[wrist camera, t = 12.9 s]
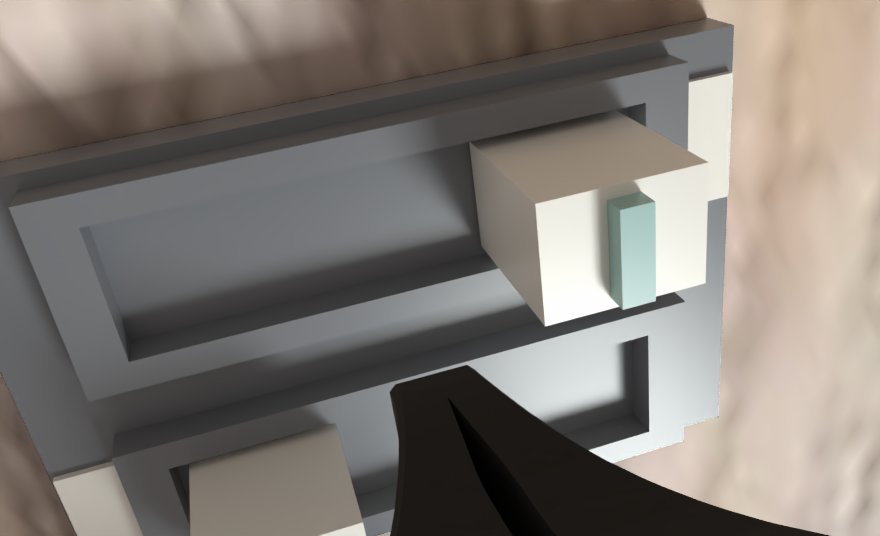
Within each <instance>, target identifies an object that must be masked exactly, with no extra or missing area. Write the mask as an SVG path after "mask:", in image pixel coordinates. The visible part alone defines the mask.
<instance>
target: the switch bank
mask: <svg viewBox="0 0 880 536" xmlns="http://www.w3.org/2000/svg"><path fill="white" fill-rule="evenodd" d="M733 34H734V25H731V24H727V23H724V22H720V21H717V20H713V19H710V18H706V19H702V20H697V21H692V22H687V23H682V24H677V25H672V26H667V27H662V28H657V29H652V30H647V31H643V32H638V33H633V34H628V35H623V36H618V37H613V38H608V39H603V40H598V41H593V42H589V43H584V44H579V45H574V46H569V47H564V48H559V49H554V50H549V51H544V52H539V53H534V54H530V55H525V56H520V57H515V58H510V59H505V60H500V61H495V62H490V63H485V64H480V65H475V66H471V67H466V68H461V69H456V70H451V71H446V72H441V73H436V74H431V75H426V76H421V77H416V78H412V79H407V80H402V81H397V82H392V83H387V84H382V85H377V86H372V87H367V88H362V89H358V90H353V91H348V92H343V93H338V94H333V95H328V96H323V97H318V98H313V99H308V100H303V101H299V102H294V103H289V104H284V105H279V106H274V107H269V108H264V109H259V110H254V111H249V112H244V113H240V114H235V115H230V116H225V117H220V118H215V119H210V120H205V121H200V122H195V123H190V124H185V125H181V126H176V127H171V128H166V129H161V130H156V131H151V132H146V133H141V134H136V135H131V136H126V137H122V138H117V139H112V140H107V141H102V142H97V143H92V144H87V145H82V146H77V147H72V148H68V149H63V150H58V151H53V152H48V153H43V154H38V155H33V156H28V157H23V158H18V159H13V160H9V161H4V162H0V372H1V374H2V376H3V378H4V381H5V383H6V385H7V387H8V389H9V391H10V393H11V396H12V398H13V400H14V402H15V404H16V406H17V409H18V411H19V413H20V415H21V417H22V419H23V422H24V424H25V426H26V428H27V430H28V432H29V435H30V437H31V439H32V441H33V443H34V445H35V448H36V450H37V452H38V454H39V456H40V458H41V460H42V463H43V465H44V467H45V469H46V471H47V473H48V476H49V478H50V480H51V482H52V484H53V486H54V489H55V491H56V493H57V495H58V497H59V499H60V502H61V504H62V506H63V508H64V510H65V512H66V515H67V517H68V519H69V521H70V523H71V525H72V527H73V530H74V532H75V534H76V536H190V485H189V463H192V462H196V461H200V460H203V459H207V458H210V457H214V456H217V455H221V454H225V453H228V452H232V451H235V450H239V449H243V448H246V447H250V446H253V445H257V444H260V443H264V442H268V441H271V440H275V439H278V438H282V437H286V436H289V435H293V434H296V433H300V432H303V431H307V430H311V429H314V428H318V427H321V426H325V425H329V424H332V423H335V424H336V427H337V431H338V434H339V438H340V442H341V445H342V449H343V452H344V456H345V460H346V463H347V467H348V470H349V474H350V477H351V481H352V485H353V488H354V492H355V495H356V499H357V503H358V506H359V510H360V513H361V517H362V521H363V524H364V529H365V533H366V536H377V535H380V534H383V533H386V532H390V531H391V528H392V522H393V516H394V509H395V500H396V490H397V480H398V463H399V438H398V433H397V428H396V423H395V417H394V412H393V407H392V402H391V397H390V391H391V389H392V388H393V387H394V385H395V384H398V383H402V382H406V381H409V380H413V379H417V378H420V377H424V376H428V375H431V374H435V373H439V372H442V371H446V370H450V369H453V368H457V367H460V366H464V365H468V366H470V367H472V368H473V369H475V370H476V371H477V372H478V373H479V374H481V375H482V376H483V377H484V378H486V379H487V380H488V381H489V382H491V383H492V384H493V385H494V386H496V387H497V388H498V389H499V390H501V391H502V392H503V393H505V394H506V395H507V396H509V397H510V398H511V399H512V400H514V401H515V402H516V403H518V404H519V405H520V406H522V407H523V408H525V409H526V410H527V411H529V412H530V413H532V414H533V415H534V416H536V417H537V418H539V419H540V420H542V421H543V422H545V423H546V424H548V425H549V426H551V427H552V428H553V429H555V430H556V431H558V432H560V433H561V434H563V435H564V436H566V437H567V438H569V439H570V440H572V441H574V442H575V443H577V444H579V445H580V446H582V447H584V448H585V449H587V450H589V451H590V452H592V453H594V454H596V455H597V456H599V457H601V458H603V459H605V460H606V461H608V462H610V463H614V462H617V461H620V460H623V459H627V458H630V457H633V456H636V455H640V454H643V453H646V452H649V451H653V450H656V449H659V448H662V447H666V446H669V445H672V444H675V443H679V442H682V441H684V427H686V426H689V425H693V424H696V423H699V422H702V421H706V420H709V419H712V418H716V417H719V392H720V367H721V341H722V315H723V290H724V264H725V239H726V213H727V196H728V189H729V163H730V138H731V113H732V88H733V73H732V60H733ZM611 110H616V111H618V112H620V113H622V114H624V115H625V116H627V117H629V118H631V119H632V120H634V121H636V122H638V123H640V124H641V125H643V126H645V127H647V128H649V129H650V130H652V131H654V132H656V133H657V134H659V135H661V136H663V137H665V138H666V139H668V140H670V141H672V142H673V143H675V144H677V145H679V146H681V147H682V148H684V149H686V150H688V151H690V152H691V153H693V154H695V155H697V156H698V157H700V158H702V159H704V160H706V161H707V162H709V176H708V213H707V250H706V283H705V284H701V285H697V286H694V287H690V288H686V289H683V290H679V291H675V292H671V293H668V294H664V295H660V296H657V297H656V301H654V302H650V303H647V304H643V305H639V306H636V307H632V308H628V309H625V310H622V309H621V308H620V307H616V308H612V309H609V310H605V311H601V312H597V313H594V314H590V315H586V316H583V317H579V318H575V319H571V320H568V321H564V322H560V323H557V324H553V325H549V326H546V327H545V326H544V325H543V323H542V322H541V321H540V319H539V318H538V317H537V316H536V314H535V313H534V312H533V311H532V309H531V308H530V307H529V306H528V304H527V303H526V302H525V301H524V299H523V298H522V297H521V295H520V294H519V293H518V292H517V290H516V289H515V288H514V287H513V285H512V284H511V283H510V282H509V280H508V279H507V278H506V277H505V275H504V274H503V273H502V272H501V270H500V269H499V268H498V266H497V265H496V264H495V263H494V261H493V260H492V259H491V258H490V256H489V255H488V254H487V253H486V251H485V250H484V249H483V248H482V246H481V239H480V231H479V222H478V214H477V205H476V197H475V188H474V180H473V171H472V163H471V154H470V146H469V142H471V141H476V140H480V139H485V138H489V137H494V136H498V135H503V134H507V133H512V132H516V131H521V130H525V129H530V128H534V127H539V126H544V125H548V124H553V123H557V122H562V121H566V120H571V119H575V118H580V117H584V116H589V115H593V114H598V113H602V112H607V111H611Z"/></svg>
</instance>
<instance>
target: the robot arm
mask: <svg viewBox="0 0 880 536" xmlns="http://www.w3.org/2000/svg"><path fill="white" fill-rule="evenodd" d="M390 397H391V402H392V407H393V412H394V417H395V423H396V428H397V433H398V438H399V463H398V480H397V490H396V500H395V509H394V516H393V522H392V528H391V534H390V536H829V535H824V534H820V533H815V532H811V531H806V530H802V529H797V528H792V527H788V526H783V525H779V524H774V523H770V522H767V521H763V520H759V519H756V518H753V517H749V516H746V515H742V514H739V513H735V512H732V511H728V510H725V509H722V508H719V507H716V506H713V505H710V504H707V503H704V502H701V501H698V500H696V499H693V498H691V497H688V496H685V495H683V494H680V493H678V492H675V491H672V490H670V489H667V488H665V487H662V486H660V485H657V484H655V483H653V482H650V481H648V480H646V479H644V478H641V477H639V476H637V475H635V474H633V473H631V472H629V471H627V470H625V469H623V468H621V467H619V466H617V465H614V464H612V463H610V462H608V461H606V460H605V459H603V458H601V457H599V456H597V455H596V454H594V453H592V452H590V451H589V450H587V449H585V448H584V447H582V446H580V445H579V444H577V443H575V442H574V441H572V440H570V439H569V438H567V437H566V436H564V435H563V434H561V433H560V432H558V431H556V430H555V429H553V428H552V427H551V426H549V425H548V424H546V423H545V422H543V421H542V420H540V419H539V418H537V417H536V416H534V415H533V414H532V413H530V412H529V411H527V410H526V409H525V408H523V407H522V406H520V405H519V404H518V403H516V402H515V401H514V400H512V399H511V398H510V397H509V396H507V395H506V394H505V393H503V392H502V391H501V390H499V389H498V388H497V387H496V386H494V385H493V384H492V383H491V382H489V381H488V380H487V379H486V378H484V377H483V376H482V375H481V374H479V373H478V372H477V371H476V370H475V369H473V368H472V367H470V366H468V365H464V366H460V367H457V368H453V369H450V370H446V371H442V372H439V373H435V374H431V375H428V376H424V377H420V378H417V379H413V380H409V381H406V382H402V383H398V384H395V385H394V387H393V388H392V389H391V391H390Z"/></svg>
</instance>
